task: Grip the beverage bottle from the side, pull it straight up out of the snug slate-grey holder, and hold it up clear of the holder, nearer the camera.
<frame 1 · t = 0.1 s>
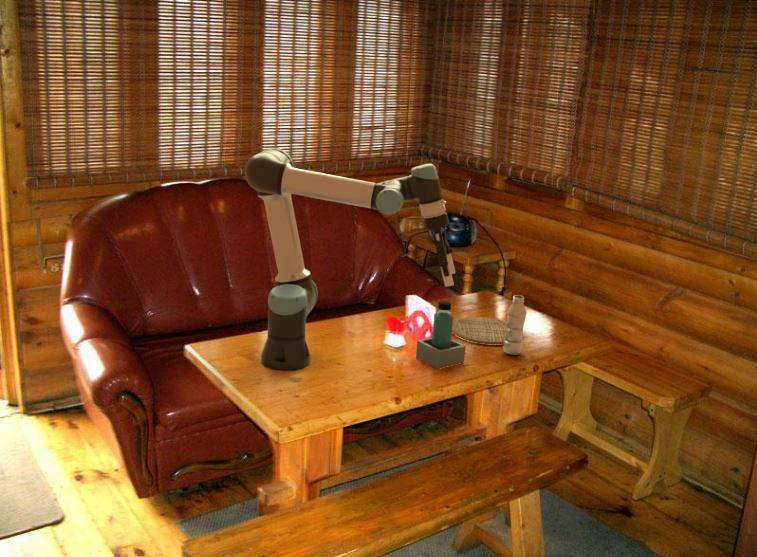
hand: (450, 279, 255), 28 cm above the table, tool tilted 20°, fingers open, 13 cm apart
beverage bottle: (439, 361, 264), resting in bottle holder
bottle holder: (439, 360, 264), on the table
plastic bottle: (511, 354, 274), on the table
trivet: (485, 334, 292), on the table
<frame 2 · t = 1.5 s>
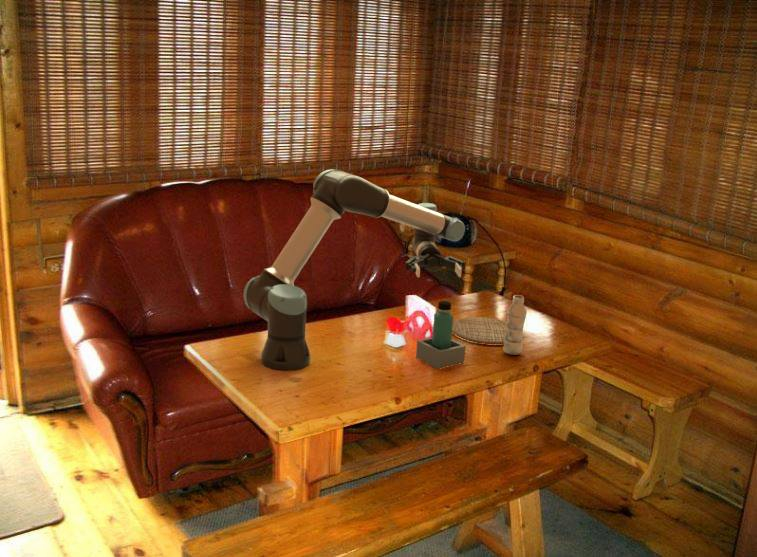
hand: (439, 273, 264), 27 cm above the table, tool horizontal, fingers open, 13 cm apart
nothing on the table moved.
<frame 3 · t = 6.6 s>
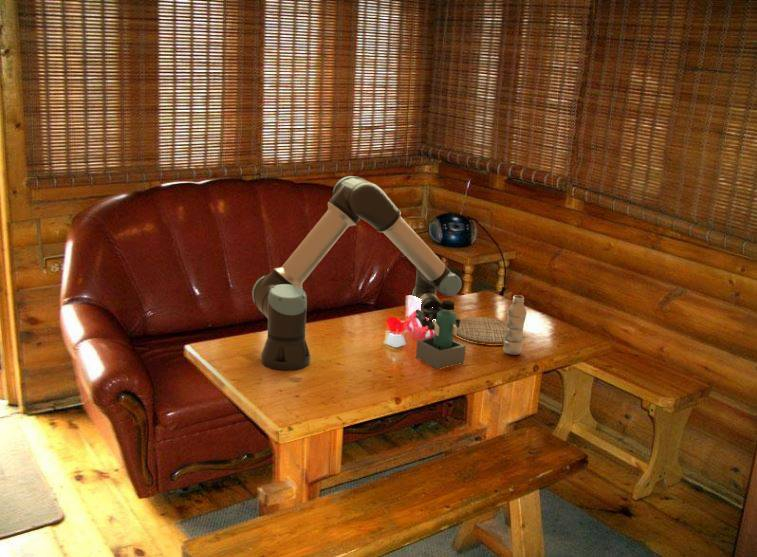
hand: (446, 331, 256), 12 cm above the table, tool horizontal, fingers closed on beverage bottle, 5 cm apart
beverage bottle: (439, 360, 264), resting in bottle holder, touching gripper
everything else where it was.
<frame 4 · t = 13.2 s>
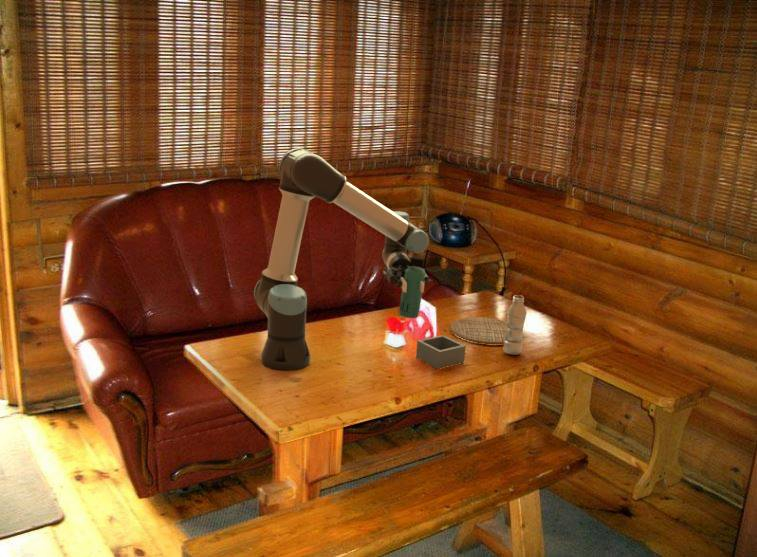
hand: (414, 287, 244), 28 cm above the table, tool horizontal, fingers closed on beverage bottle, 5 cm apart
beverage bottle: (407, 320, 252), point 16 cm above the table, touching gripper
everything else where it was.
at the end: the gripper is holding beverage bottle; beverage bottle inside the target area (0.7 cm from its centre), point 15.8 cm above the table; beverage bottle tilted 5° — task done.
